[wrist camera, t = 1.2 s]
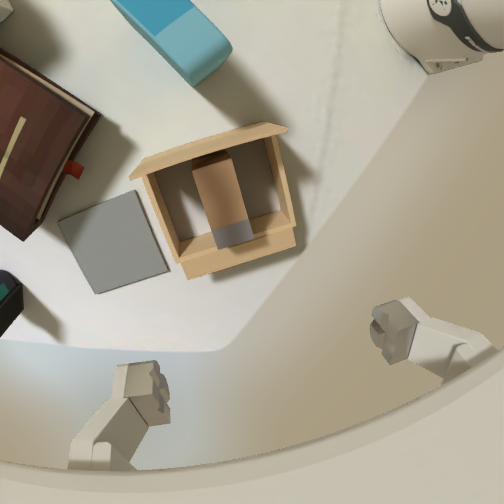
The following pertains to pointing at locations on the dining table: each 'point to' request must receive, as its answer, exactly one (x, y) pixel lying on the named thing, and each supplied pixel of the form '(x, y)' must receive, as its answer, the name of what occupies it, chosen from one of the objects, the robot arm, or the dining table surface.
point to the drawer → (264, 228)
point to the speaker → (9, 301)
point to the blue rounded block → (178, 35)
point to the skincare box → (5, 9)
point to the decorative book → (36, 143)
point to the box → (222, 198)
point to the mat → (113, 243)
